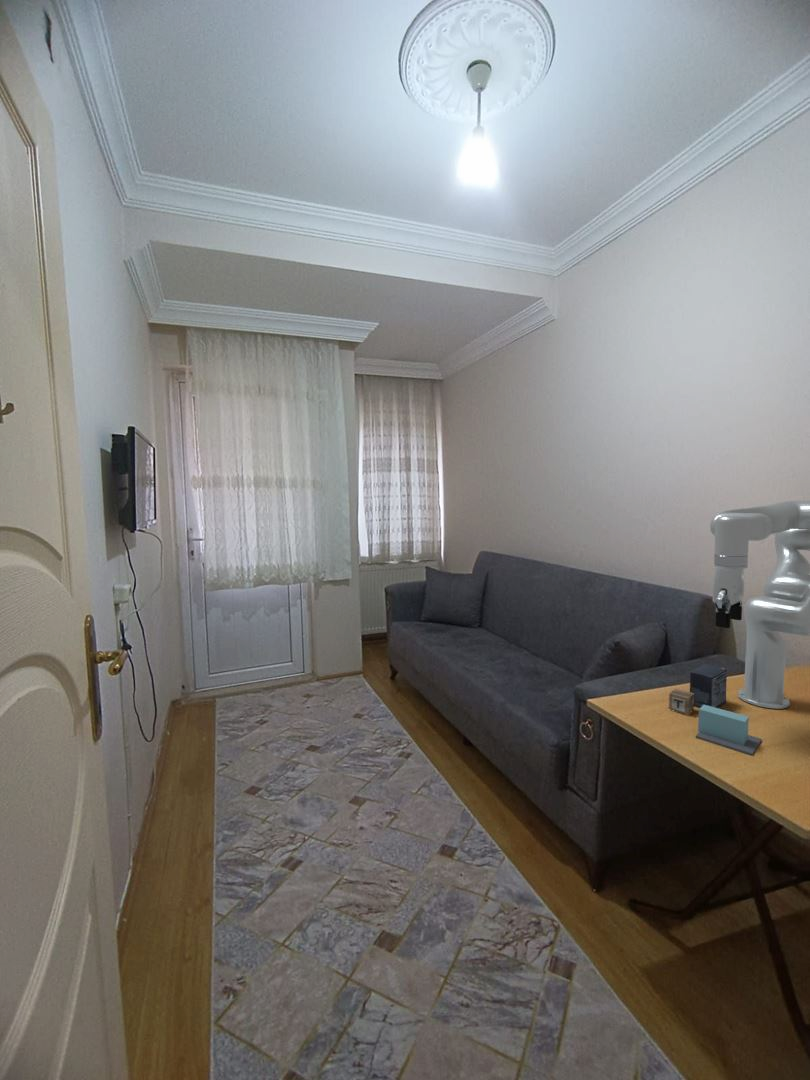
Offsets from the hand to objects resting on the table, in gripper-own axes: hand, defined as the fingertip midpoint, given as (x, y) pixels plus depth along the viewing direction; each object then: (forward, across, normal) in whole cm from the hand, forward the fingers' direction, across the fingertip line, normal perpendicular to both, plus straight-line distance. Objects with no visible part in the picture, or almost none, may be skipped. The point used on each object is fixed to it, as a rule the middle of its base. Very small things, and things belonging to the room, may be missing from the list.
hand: (728, 623), depth 131 cm
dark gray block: (+27, +13, +4) cm, 30 cm away
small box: (+28, -7, -7) cm, 29 cm away
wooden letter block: (+27, +3, -10) cm, 29 cm away
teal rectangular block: (+26, +13, +3) cm, 29 cm away
